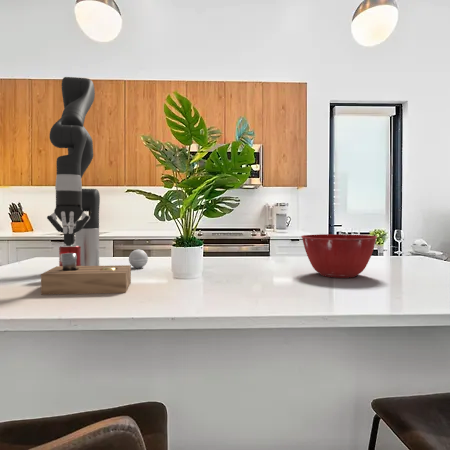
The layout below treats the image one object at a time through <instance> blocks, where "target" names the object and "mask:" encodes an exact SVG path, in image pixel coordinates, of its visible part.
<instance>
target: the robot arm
mask: <svg viewBox="0 0 450 450" xmlns="http://www.w3.org/2000/svg"><path fill="white" fill-rule="evenodd" d="M95 91H96V90H95V84H94V82H93V80H92V79H90V78H86V77H77V76H76V77H73V76H64V77H62V79H61V94H62V102H63V111H62V114H61V117H60V118H59V119H58V120H57V121H55V123H54V124H53V125H52V127H51V129H50V131H49V141H50V143H51V144H52V145H53V147H55V148H58V149H67V154H66V155H65V154H63V155H59V156H58V157H56V165H55V166H56V178H55V208H54V210H53V213H51V214H50V215H47V217H46V219H47V221H49V222H50V223H51V226H53V227H54V229H55V230H56V231H57V232H58V233H59V232H60V233H61V234H63V245H66V246H72V245H80V246H81V266H100V203H101V196H100V192H99V190H98V189H96V188H83V184H82V183H83V182H82V178H83V177H84V174H85V172H86V170H87V169H88V168H89V167H90V165H91V164H92V161H93V159H94V143H93V142H94V141H93V139H92V136H91V135H90V132H89V131H88V130H87V129H86V127H85V126H84V125H85V119H86V116H87V114H88V112H89V110H90V109H91V107H92V106H93V103H94V102H95V94H96V92H95ZM85 212H89V213H90V214H89V215H88V214H86V213H85ZM80 218H81V219H80ZM57 219H59V221H60V223H61V224H62V225H61V224H60V223H59V222H58V221H57Z"/></svg>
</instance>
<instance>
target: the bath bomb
mask: <svg viewBox="0 0 450 450" xmlns="http://www.w3.org/2000/svg"><path fill="white" fill-rule="evenodd" d="M148 259H149V256H148V254H147V253H146V252H145V251H144V250H143V249H139V248H138V249H135V250H132V251H131V252H130V254H129V256H128V263H129V265H131V267H133V268H136V269H140V268H143V267H145V266H146V265H147V263H148Z"/></svg>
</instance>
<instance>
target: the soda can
mask: <svg viewBox="0 0 450 450" xmlns="http://www.w3.org/2000/svg"><path fill="white" fill-rule="evenodd" d="M64 253H76V266H81V246H80V245H75V244H73V245H72V246H66V244H63V245H59V246H58V262H59V263H58V266H63V260H62V254H64Z"/></svg>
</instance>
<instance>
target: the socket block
mask: <svg viewBox="0 0 450 450" xmlns="http://www.w3.org/2000/svg"><path fill="white" fill-rule="evenodd" d="M105 267H115V268H116V270H103V268H105ZM131 283H132V265H131V264H128V265H125V264H124V265H122V264H121V265H99V266H76V271H63V266H59V265H58V266H55V267H53V268H51V269H48V270H47V271H44V272H43V273H40V288H41V289H40V293H41V296H42V295H77V294H78V295H80V294H81V295H82V294H83V295H84V294H85V295H86V294H90V295H91V294H120V293H121V294H126V293H127V292H128V289H129V288H130V286H131Z"/></svg>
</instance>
